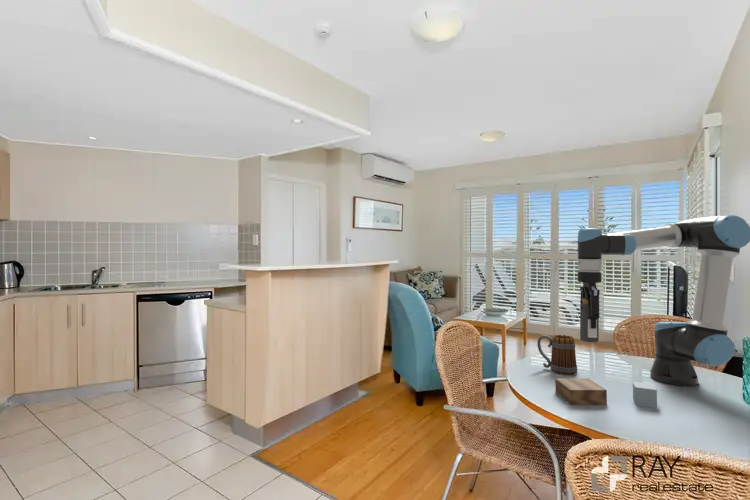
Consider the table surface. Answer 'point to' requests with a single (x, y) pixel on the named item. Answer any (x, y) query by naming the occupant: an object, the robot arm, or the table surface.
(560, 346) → the mug
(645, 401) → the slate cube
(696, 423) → the table surface
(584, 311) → the bottle
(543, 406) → the table surface
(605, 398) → the walnut block
